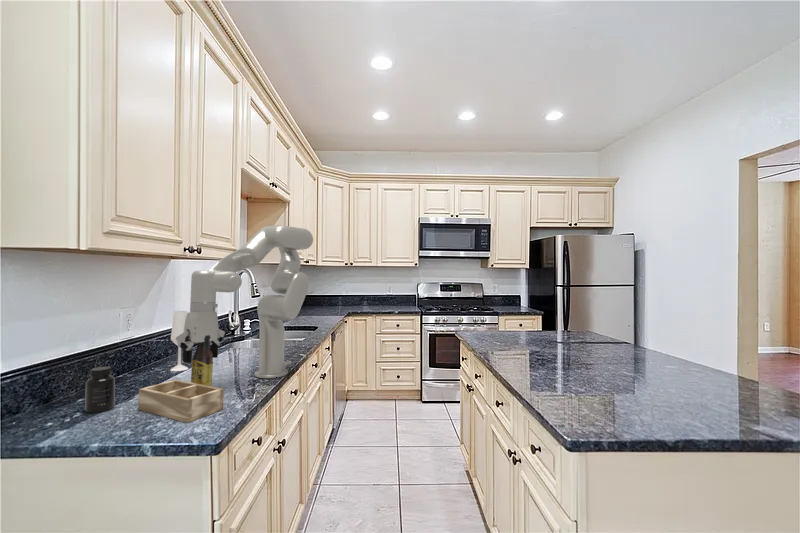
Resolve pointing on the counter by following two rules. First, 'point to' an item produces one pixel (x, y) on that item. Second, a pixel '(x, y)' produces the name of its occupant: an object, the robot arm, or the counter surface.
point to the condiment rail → (181, 400)
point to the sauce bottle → (202, 363)
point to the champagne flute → (176, 331)
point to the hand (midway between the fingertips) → (200, 359)
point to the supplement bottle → (100, 390)
